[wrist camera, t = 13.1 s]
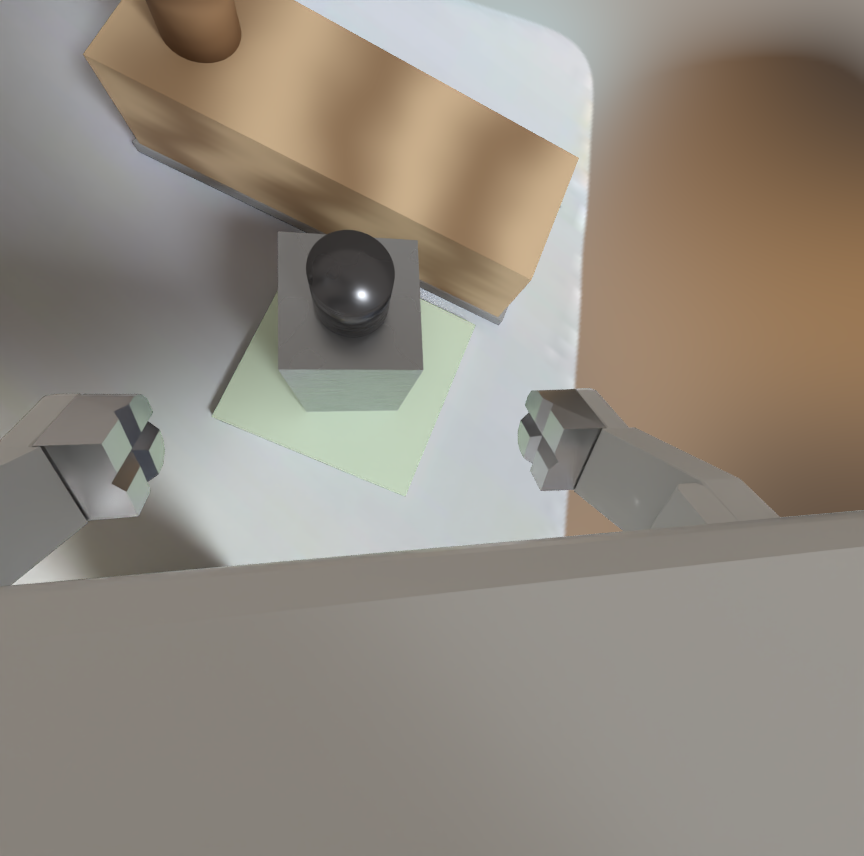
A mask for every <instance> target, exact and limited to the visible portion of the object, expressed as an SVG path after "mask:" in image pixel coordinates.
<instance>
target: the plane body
mask: <svg viewBox="0 0 864 856" xmlns="http://www.w3.org/2000/svg"><path fill="white" fill-rule="evenodd" d="M83 55H84V56H85V58H86V60H87V61H88V63H89V64H90V66H91V67H92V69H93V71H94V72H95V74H96V75H97V77H98V79H99V80H100V82H101V83H102V85H103V86H104V88H105V90H106V91H107V93H108V94H109V96H110V98H111V99H112V101H113V102H114V104H115V105H116V107H117V109H118V110H119V112H120V113H121V115H122V116H123V118H124V120H125V121H126V123H127V124H128V126H129V128H130V129H131V131H132V132H133V134H134V135H135V139H134V140H133V144H134V145H135V147H136V148H137V150H138V151H139V152H141V153H143V154H145V155H147V156H149V157H151V158H153V159H155V160H157V161H159V162H162V163H164V164H166V165H168V166H170V167H172V168H174V169H176V170H178V171H180V172H182V173H184V174H186V175H188V176H191V177H193V178H195V179H197V180H199V181H201V182H203V183H205V184H207V185H209V186H211V187H213V188H215V189H217V190H220V191H222V192H224V193H226V194H228V195H230V196H232V197H234V198H236V199H238V200H240V201H242V202H244V203H246V204H249V205H251V206H253V207H255V208H257V209H259V210H261V211H263V212H265V213H267V214H269V215H271V216H273V217H275V218H278V219H280V220H282V221H284V222H286V223H288V224H290V225H292V226H294V227H296V228H298V229H300V230H302V231H304V232H307V233H312V234H329V233H332V232H335V231H339V230H356V231H360V232H363V233H366V234H368V235H370V236H372V237H374V238H390V239H405V240H418V258H419V281H420V287H421V288H423V289H425V290H427V291H429V292H431V293H433V294H435V295H437V296H439V297H441V298H443V299H445V300H447V301H450V302H452V303H454V304H456V305H458V306H460V307H462V308H464V309H466V310H468V311H470V312H472V313H474V314H476V315H479V316H481V317H483V318H485V319H487V320H489V321H491V322H493V323H495V324H497V325H499V324H500V323H501V322H502V320H503V318H504V315H505V313H506V310H507V308H508V306H509V304H510V303H511V302H512V301H513V300H514V299H515V298H516V297H517V295H518V294H519V293H520V292H521V291H522V290H523V289H524V288H525V286H526V285H527V284H528V283H529V282H530V281H531V279H532V277H533V274H534V272H535V269H536V267H537V264H538V261H539V259H540V256H541V254H542V251H543V249H544V246H545V243H546V241H547V238H548V236H549V233H550V231H551V228H552V226H553V223H554V220H555V218H556V215H557V213H558V210H559V208H560V205H561V202H562V200H563V197H564V195H565V192H566V190H567V187H568V184H569V182H570V179H571V177H572V174H573V172H574V169H575V166H576V164H577V161H578V159H579V158H578V157H576V156H574V155H572V154H571V153H569V152H567V151H565V150H563V149H562V148H560V147H558V146H556V145H554V144H553V143H551V142H549V141H547V140H545V139H544V138H542V137H540V136H538V135H536V134H535V133H533V132H531V131H529V130H527V129H525V128H524V127H522V126H520V125H518V124H516V123H515V122H513V121H511V120H509V119H507V118H506V117H504V116H502V115H500V114H498V113H497V112H495V111H493V110H491V109H489V108H488V107H486V106H484V105H482V104H480V103H479V102H477V101H475V100H473V99H471V98H470V97H468V96H466V95H464V94H462V93H461V92H459V91H457V90H455V89H453V88H451V87H450V86H448V85H446V84H444V83H442V82H441V81H439V80H437V79H435V78H433V77H432V76H430V75H428V74H426V73H424V72H423V71H421V70H419V69H417V68H415V67H414V66H412V65H410V64H408V63H406V62H405V61H403V60H401V59H399V58H397V57H396V56H394V55H392V54H390V53H388V52H386V51H385V50H383V49H381V48H379V47H377V46H376V45H374V44H372V43H370V42H368V41H367V40H365V39H363V38H361V37H359V36H358V35H356V34H354V33H352V32H350V31H349V30H347V29H345V28H343V27H341V26H340V25H338V24H336V23H334V22H332V21H331V20H329V19H327V18H325V17H323V16H322V15H320V14H318V13H316V12H314V11H312V10H311V9H309V8H307V7H305V6H303V5H302V4H300V3H298V2H296V1H294V0H121V2H120V3H119V5H118V6H117V7H116V9H115V10H114V12H113V13H112V14H111V16H110V17H109V19H108V20H107V21H106V23H105V24H104V26H103V27H102V28H101V30H100V31H99V33H98V34H97V35H96V37H95V38H94V40H93V41H92V42H91V44H90V45H89V46H88V48H87V49H86V51H85V52H84V53H83Z"/></svg>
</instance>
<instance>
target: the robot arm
mask: <svg viewBox="0 0 864 856" xmlns="http://www.w3.org/2000/svg"><path fill="white" fill-rule="evenodd" d="M525 406H526V408H527V410H528V412H529V413H528V414H527V415H526V416H525V417H524V418H523V419H522V420H521V421H520V425H519V429H518V445H519V449H520V451H521V454H522V456H523V458H525V459H526V460H528V461H529V462H531V463H532V467H531V470H530V471H531V473H532V475H533V477H534V479H535V481H536V483H537V485H538V487H539V489H540V491H552V490H574V492H576V493H577V494H578V495H579V496H581V497H582V498H583V499H584V500H586V501H587V502H588V503H589V504H591V505H592V506H593V507H594V508H596V509H597V510H598V511H599V512H600V513H602V514H603V515H604V516H605V517H607V518H608V519H609V520H610V521H612V522H613V523H614V524H615V525H616V526H618V527H619V528H620V529H621V530H623V532H611V533H600V534H591V535H590V534H589V535H579V536H567V537H556V538H544V539H533V540H521V541H509V542H498V543H486V544H475V545H463V546H452V547H440V548H428V549H417V550H406V551H395V552H383V553H372V554H361V555H350V556H338V557H327V558H316V559H305V560H293V561H282V562H271V563H260V564H248V565H237V566H226V567H214V568H203V569H192V570H180V571H169V572H158V573H146V574H135V575H124V576H112V577H101V578H90V579H78V580H67V581H56V582H44V583H33V584H22V585H12V584H13V583H14V582H16V581H17V580H18V579H19V578H20V577H22V576H23V575H24V574H25V573H27V572H28V571H29V570H30V569H32V568H33V567H34V566H35V565H37V564H38V563H39V562H40V561H41V560H43V559H44V558H45V557H46V556H48V555H49V554H50V553H51V552H53V551H54V550H55V549H56V548H57V547H59V546H60V545H61V544H62V543H64V542H65V541H66V540H67V539H69V538H70V537H71V536H72V535H74V534H75V533H76V532H77V531H78V530H80V529H81V528H82V527H83V526H85V525H86V524H87V523H88V522H87V521H90V520H102V519H113V518H125V517H136V516H139V514H140V512H141V510H142V508H143V506H144V504H145V502H146V500H147V498H148V496H149V494H150V492H151V489H150V487H149V485H148V483H147V482H148V481H150V480H151V479H153V478H154V477H155V476H157V475H158V474H159V472H160V470H161V468H162V466H163V462H164V454H165V448H164V441H163V438H162V435H161V432H160V430H159V429H158V428H156V427H155V426H154V425H152V424H151V423H150V422H148V420H149V418H150V416H151V415H152V413H153V411H152V409H151V407H150V404H149V402H148V400H147V398H146V397H144V396H143V395H141V394H79V393H77V394H51V395H46V396H44V397H43V398H42V399H41V400H40V401H39V402H38V403H37V404H36V405H35V406H34V407H33V408H32V409H31V410H30V411H29V412H28V413H27V414H26V415H25V416H24V417H23V418H22V419H21V420H20V421H19V422H18V423H17V424H16V425H15V426H14V427H13V428H12V429H11V430H10V431H9V432H8V433H7V434H6V435H5V436H4V437H3V438H2V439H1V440H0V856H864V510H861V511H849V512H838V513H826V514H815V515H804V516H792V517H781V518H780V517H779V516H778V515H777V514H776V513H775V512H774V511H773V510H772V509H771V508H770V507H769V506H768V505H767V504H765V502H764V501H763V500H761V499H760V498H759V497H758V496H757V495H756V494H755V493H754V492H753V491H752V490H751V489H750V488H749V487H748V486H747V485H746V484H745V483H744V482H743V481H742V480H741V479H739V478H737V477H735V476H733V475H731V474H729V473H727V472H725V471H723V470H721V469H719V468H717V467H715V466H712V465H710V464H709V463H706V462H704V461H702V460H700V459H698V458H696V457H694V456H692V455H690V454H688V453H686V452H684V451H682V450H680V449H678V448H676V447H673V446H672V445H670V444H668V443H665V442H663V441H661V440H659V439H657V438H655V437H653V436H651V435H649V434H647V433H645V432H643V431H641V430H639V429H637V428H629V427H628V426H627V425H626V424H625V423H624V421H623V420H622V419H621V418H620V417H619V416H618V415H617V414H616V412H615V411H614V410H613V409H612V408H611V407H610V406H609V405H608V403H607V402H606V401H605V400H604V399H603V398H602V397H601V395H599V394H598V392H597V391H596V390H594V389H591V388H583V389H566V390H535V391H531V392H530V394H529V395H528V397H527V401H526V404H525Z"/></svg>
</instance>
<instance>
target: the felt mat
mask: <svg viewBox="0 0 864 856" xmlns="http://www.w3.org/2000/svg"><path fill="white" fill-rule="evenodd" d="M420 303H421V325H422V348H423V372H422V373H421V375H420V376H419V378H418V379H417V381H416V383H415V384H414V386H413V387H412V389H411V390H410V392H409V393H408V395H407V397H406V398H405V400H404V401H403V403H402V404H401V406H400V408H399V409H398V411H332V412H306V410H305V409H304V407H303V406H302V404H301V403H300V401H299V400H298V398H297V397H296V395H295V394H294V392H293V391H292V389H291V388H290V386H289V385H288V383H287V382H286V380H285V379H284V377H283V376H282V375H281V373H280V372H279V370H278V291H277V293H276V294H275V296H274V298H273V300H272V302H271V304H270V306H269V308H268V310H267V312H266V314H265V316H264V317H263V319H262V321H261V323H260V325H259V327H258V329H257V331H256V333H255V335H254V337H253V338H252V340H251V342H250V344H249V346H248V348H247V350H246V352H245V354H244V356H243V358H242V359H241V361H240V363H239V365H238V367H237V369H236V371H235V373H234V375H233V377H232V379H231V381H230V382H229V384H228V386H227V388H226V390H225V392H224V394H223V396H222V398H221V400H220V402H219V403H218V405H217V407H216V409H215V411H214V413H213V415H212V417H214V418H216V419H218V420H221V421H223V422H225V423H228V424H230V425H233V426H235V427H238V428H240V429H242V430H245V431H247V432H250V433H252V434H255V435H257V436H259V437H262V438H264V439H267V440H269V441H272V442H274V443H276V444H279V445H281V446H284V447H286V448H289V449H291V450H293V451H296V452H298V453H301V454H303V455H306V456H308V457H310V458H313V459H315V460H318V461H320V462H323V463H325V464H327V465H330V466H332V467H335V468H337V469H340V470H342V471H344V472H347V473H349V474H352V475H354V476H357V477H359V478H361V479H364V480H366V481H369V482H371V483H374V484H376V485H378V486H381V487H383V488H386V489H388V490H391V491H393V492H395V493H398V494H400V495H403V496H406V494H407V491H408V489H409V486H410V484H411V481H412V479H413V477H414V474H415V472H416V469H417V467H418V464H419V462H420V459H421V457H422V455H423V452H424V450H425V447H426V445H427V442H428V440H429V438H430V435H431V433H432V430H433V428H434V425H435V423H436V420H437V418H438V416H439V413H440V411H441V408H442V406H443V403H444V401H445V398H446V396H447V394H448V391H449V389H450V386H451V384H452V381H453V379H454V376H455V374H456V372H457V369H458V367H459V364H460V362H461V359H462V357H463V354H464V352H465V350H466V347H467V345H468V342H469V340H470V337H471V335H472V333H473V330H474V328H475V325H474V324H472V323H470V322H468V321H466V320H464V319H462V318H460V317H458V316H456V315H453V314H451V313H449V312H447V311H445V310H443V309H441V308H439V307H437V306H435V305H433V304H430V303H428V302H426V301H424V300H422V299H420Z"/></svg>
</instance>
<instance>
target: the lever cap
mask: <svg viewBox="0 0 864 856" xmlns="http://www.w3.org/2000/svg"><path fill="white" fill-rule="evenodd" d="M278 370H279V372H280V373H281V375H282V376H283V377H284V379H285V380H286V382H287V383H288V385H289V386H290V388H291V389H292V391H293V392H294V394H295V395H296V397H297V398H298V400H299V401H300V403H301V404H302V406H303V407H304V409H305V410H306V412H332V411H398V409H399V408H400V406H401V404H402V403H403V401H404V400H405V398H406V397H407V395H408V393H409V392H410V390H411V389H412V387H413V386H414V384H415V383H416V381H417V379H418V378H419V376H420V375H421V373H422V372H423V348H422V325H421V303H420V281H419V258H418V240H405V239H390V238H374V237H372V236H370V235H368V234H366V233H363V232H360V231H356V230H339V231H335V232H332V233H329V234H312V233H297V232H281V231H278Z"/></svg>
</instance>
